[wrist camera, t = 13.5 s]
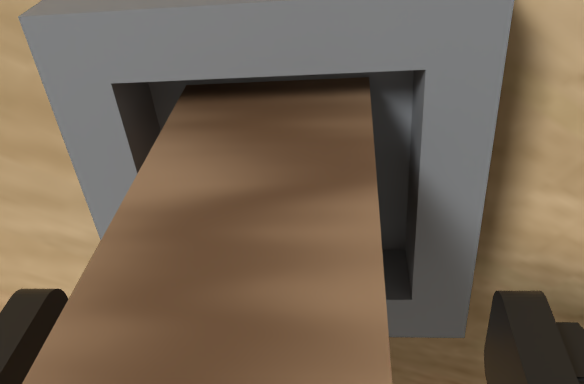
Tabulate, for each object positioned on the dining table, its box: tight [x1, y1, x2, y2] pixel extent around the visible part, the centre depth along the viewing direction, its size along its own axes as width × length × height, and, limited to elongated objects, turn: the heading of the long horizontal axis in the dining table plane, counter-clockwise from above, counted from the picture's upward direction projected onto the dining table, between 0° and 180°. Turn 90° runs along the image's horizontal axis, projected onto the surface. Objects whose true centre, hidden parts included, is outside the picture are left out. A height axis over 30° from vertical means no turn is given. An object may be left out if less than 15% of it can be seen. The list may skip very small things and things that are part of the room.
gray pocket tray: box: [18, 0, 514, 338], centre depth 14 cm, size 10×10×2 cm
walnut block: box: [22, 77, 392, 384], centre depth 11 cm, size 4×4×9 cm
